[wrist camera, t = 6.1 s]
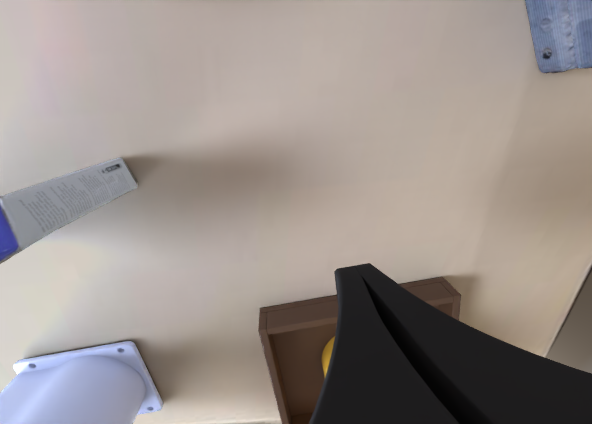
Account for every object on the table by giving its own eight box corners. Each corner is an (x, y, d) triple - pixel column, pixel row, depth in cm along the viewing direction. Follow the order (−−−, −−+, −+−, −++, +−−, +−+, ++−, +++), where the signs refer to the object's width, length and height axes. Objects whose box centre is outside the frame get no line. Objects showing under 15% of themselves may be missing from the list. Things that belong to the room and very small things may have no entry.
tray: (285, 414, 27) (286, 442, 25) (259, 308, 22) (258, 330, 20) (436, 387, 28) (450, 412, 25) (442, 276, 23) (461, 294, 21)
